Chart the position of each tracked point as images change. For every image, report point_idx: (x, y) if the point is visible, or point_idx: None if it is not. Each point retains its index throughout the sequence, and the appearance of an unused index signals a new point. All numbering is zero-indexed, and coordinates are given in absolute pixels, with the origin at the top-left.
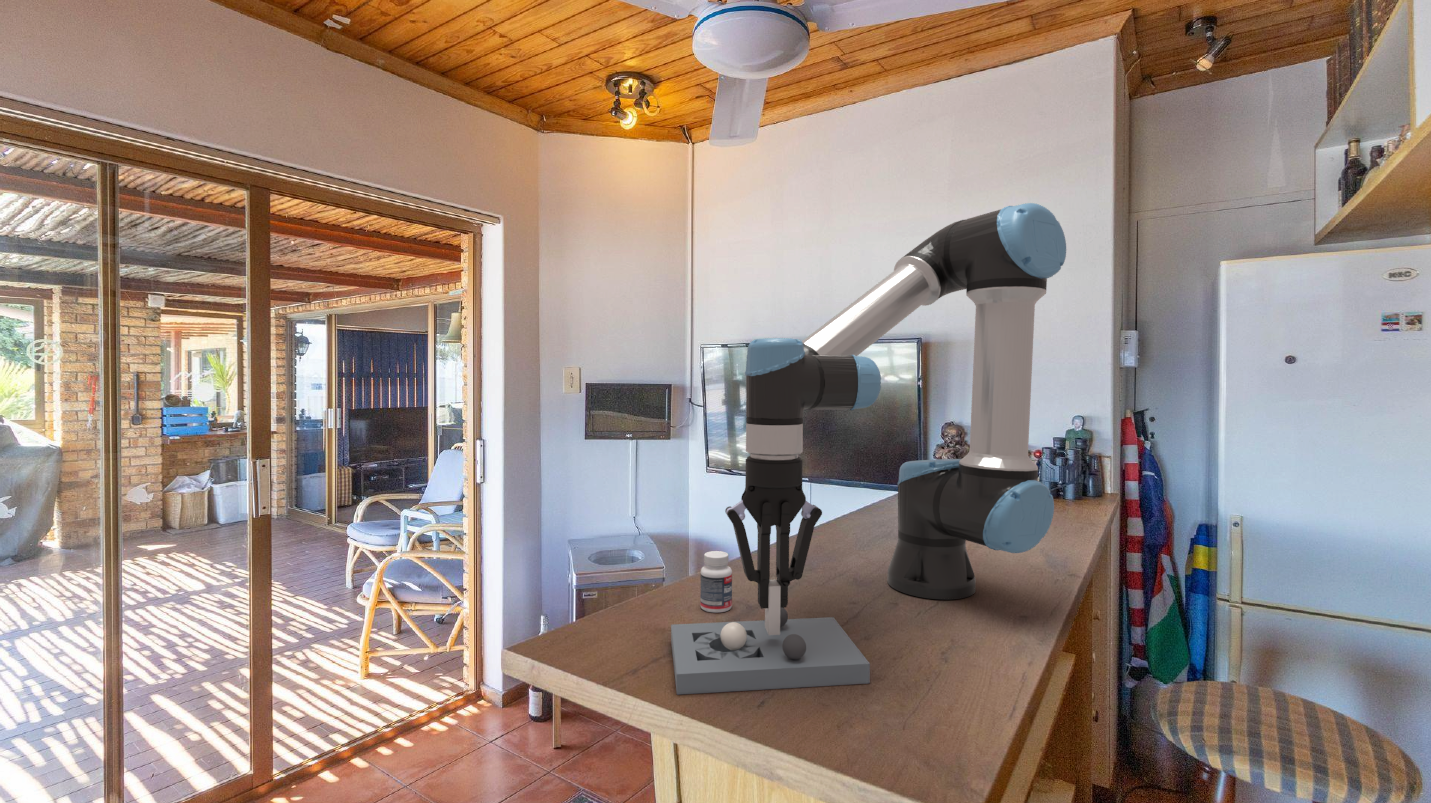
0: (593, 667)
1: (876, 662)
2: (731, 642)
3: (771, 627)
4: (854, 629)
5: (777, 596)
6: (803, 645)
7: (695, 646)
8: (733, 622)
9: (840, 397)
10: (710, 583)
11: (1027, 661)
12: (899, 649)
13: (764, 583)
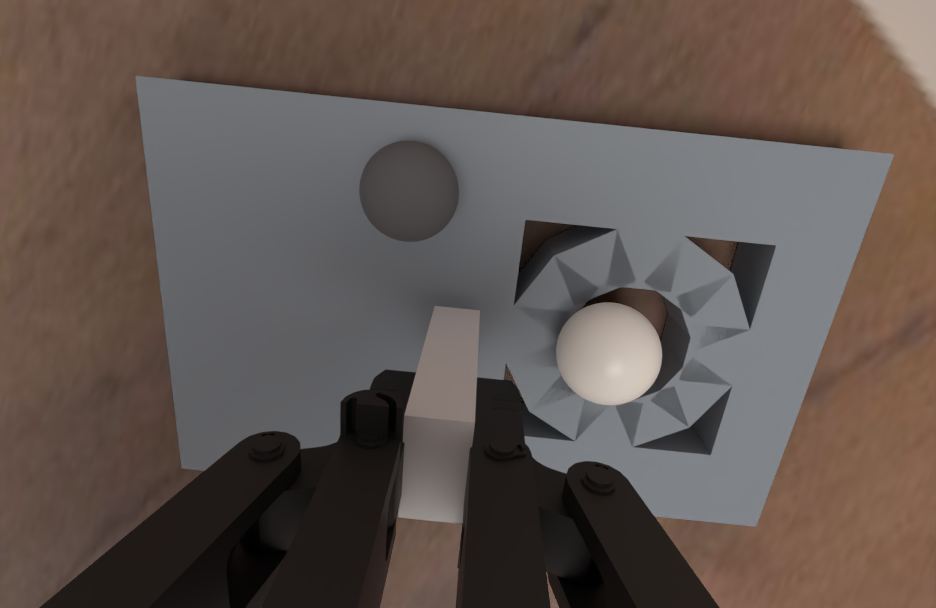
0: None
1: (118, 221)
2: (632, 308)
3: (468, 322)
4: (135, 447)
5: (429, 385)
6: (376, 155)
7: (739, 354)
8: (617, 385)
9: None
10: None
11: None
12: (19, 291)
13: (506, 440)
